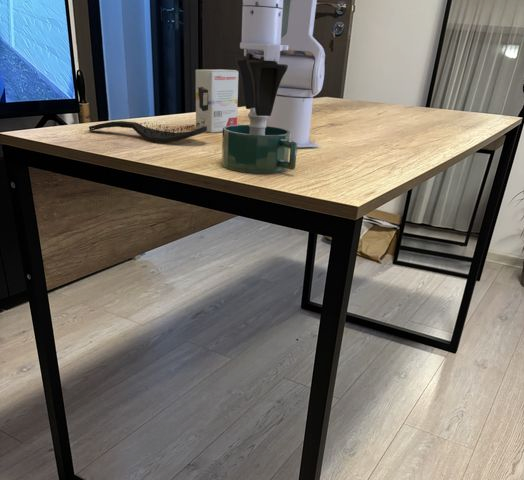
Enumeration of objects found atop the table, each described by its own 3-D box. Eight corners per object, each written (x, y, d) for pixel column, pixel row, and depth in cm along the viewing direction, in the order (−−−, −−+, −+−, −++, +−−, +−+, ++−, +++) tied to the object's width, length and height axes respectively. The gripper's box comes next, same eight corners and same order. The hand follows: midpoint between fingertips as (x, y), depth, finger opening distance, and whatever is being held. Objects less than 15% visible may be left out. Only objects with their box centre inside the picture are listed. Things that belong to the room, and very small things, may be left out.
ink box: (221, 126, 121) (223, 68, 115) (238, 130, 119) (240, 70, 113) (194, 129, 116) (194, 68, 110) (211, 133, 113) (211, 70, 107)
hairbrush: (100, 113, 109) (213, 118, 102) (102, 132, 111) (214, 139, 104) (75, 117, 102) (195, 123, 95) (78, 138, 104) (196, 145, 97)
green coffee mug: (208, 163, 86) (208, 127, 83) (254, 157, 93) (256, 123, 90) (270, 180, 78) (272, 140, 76) (315, 172, 85) (319, 135, 82)
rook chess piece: (238, 163, 85) (240, 109, 81) (246, 158, 89) (248, 106, 85) (265, 167, 84) (268, 111, 80) (272, 161, 88) (275, 108, 84)
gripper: (304, 8, 70) (295, 119, 77) (277, 11, 83) (271, 107, 89) (252, 4, 69) (247, 118, 76) (232, 7, 81) (229, 105, 88)
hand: (257, 112), depth 82 cm, fingers open, 7 cm apart
